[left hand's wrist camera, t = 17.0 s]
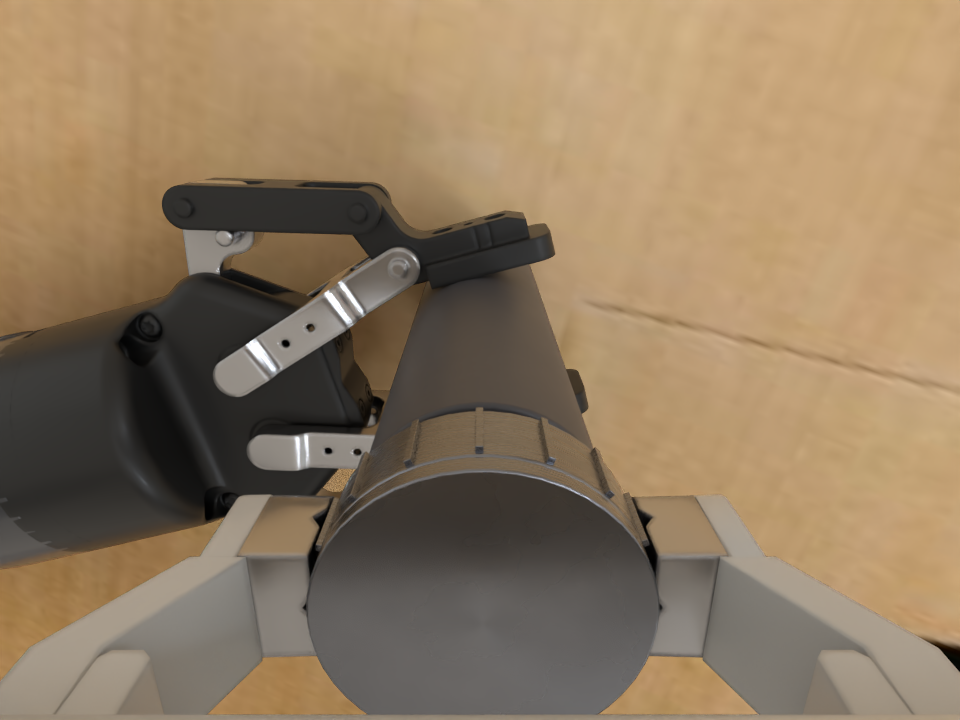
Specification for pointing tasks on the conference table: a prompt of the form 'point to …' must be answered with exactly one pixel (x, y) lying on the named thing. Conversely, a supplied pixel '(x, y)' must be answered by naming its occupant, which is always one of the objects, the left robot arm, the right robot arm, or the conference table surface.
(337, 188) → the right robot arm
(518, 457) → the lid
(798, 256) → the conference table surface
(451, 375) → the grey tall cylinder
